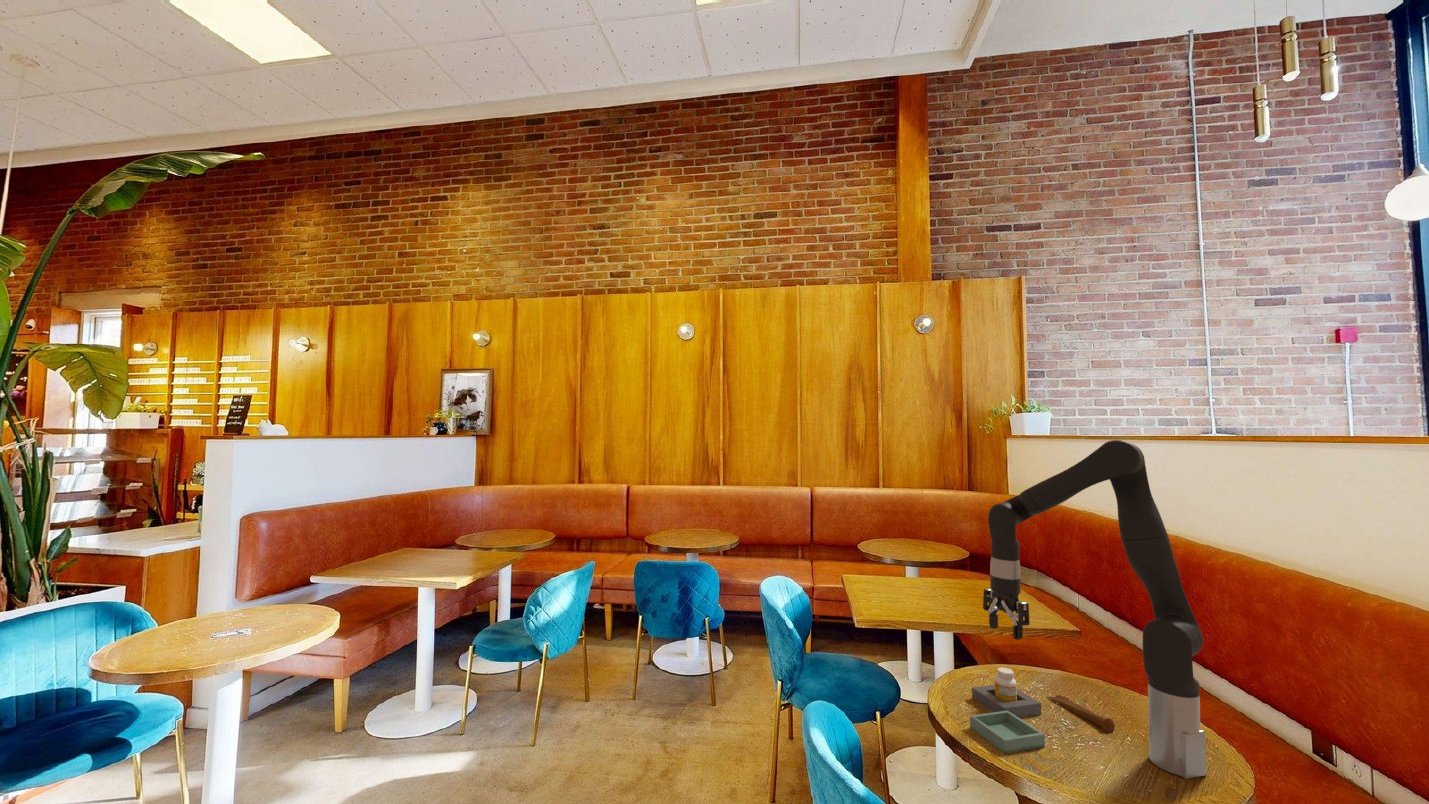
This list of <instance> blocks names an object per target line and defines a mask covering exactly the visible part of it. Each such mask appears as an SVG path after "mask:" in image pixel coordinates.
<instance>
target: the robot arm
mask: <svg viewBox="0 0 1429 804" xmlns="http://www.w3.org/2000/svg"><path fill="white" fill-rule="evenodd" d="M1144 455H1145V454H1144V453H1143V451H1142V450H1141V449H1140V448H1139V447H1138V446H1137V445H1136V444H1135V443H1131V442H1129V441H1126V440H1123V439H1113V440H1109V441H1107V442H1104V443H1103V444H1102V445H1101V446H1099V447H1098V448H1096V449H1095V450H1094V451H1093V452H1091V453H1090V454H1089V455H1088V456H1086V457H1085V458H1083V459H1082V460H1080V461H1078V462H1077V463H1075V464H1074V465H1072V466H1071V467H1069V468H1066V469H1065V470H1063V471H1061V472H1059V473H1056V474H1055V475H1053V476H1050V477H1048V478H1046V479H1044V480H1042V481H1040V482H1038V483H1037V484H1034V485H1032V486H1031V487H1028V488H1026V489H1025V490H1023V491H1022V492H1020V494H1018V495H1016V496H1014V497H1011V498H1010V499H1007V500H1005V501H1003V502H999V503H996V504H994V505H992V506H991V508H990V509H989V511H988V519H987V522H988V529H989V533H990V534H989V535H990V538H991V545H990V548H991V550H990V551H991V553H990V564H989V565H990V567H989V569H990V571H989V576H990V577H989V583H990V586H989V587H990V588H985V589H983V595H982V596H983V598H982V599H983V601H982V609H983V611H987V614H988V624H989V628H990V629H993V630H994V629H998V628H999V615H998V614H999V612H1004V613H1005V614H1007V616H1008V617H1009V619H1011V622H1012V623H1013V625H1012V630H1013V631H1012V634H1013V635H1012V637H1013V639H1014V640H1016V641H1018V640H1023V639H1022V638H1023V637H1024V636H1023V635H1024V634H1023V633H1024V632H1023V631H1024V629H1023V628H1024V626H1030V622H1031V621H1030V605H1029V603H1028V601H1020V599H1019V595H1020V594H1021V591H1022V590H1021V584H1022V582H1021V581H1022V580H1021V579H1022V578H1021V571H1022V570H1021V563H1020V558H1021V557H1020V543H1019V540H1018V539H1017V533H1016V528H1017V527H1016V526H1017V525H1019V524H1022V523H1023V522H1025V521H1027V520H1029V519H1031V518H1032V517H1034V516H1035V515H1039V514H1043V513H1045V512H1046V511H1049V510H1050V509H1053V508H1055V507H1057V506H1059V505H1062V503H1064V502H1066V501H1068V500H1069V499H1071V498H1073V497H1074V496H1076V495H1078V494H1079V493H1081V492H1083V491H1084V490H1086V489H1089V488H1090V487H1091V486H1094V485H1095V486H1096V485H1098V484H1099V483H1103V482H1105V481H1108V480H1109V481H1110V483H1111V486H1112V489H1113V492H1114V495H1115V498H1116V505H1117V519H1118V527H1119V528H1118V529H1119V535H1120V539H1121V542H1122V546H1123V549H1124V553H1125V556H1126V558H1127V561H1128V563H1129V564H1130V566H1131V568H1132V570H1133V571H1134V573H1135V575H1136V576H1137V577H1138V578H1139V580H1140V581H1141V583H1142V584H1143V586H1144V588H1145V589H1146V591H1147V594H1148V597H1149V599H1150V602H1151V607H1152V611H1153V615H1154V619H1153V620H1150V621H1149V622H1147V623H1146V624H1145V626H1144V627H1143V631H1142V655H1143V667H1144V670H1145V671H1144V672H1145V673H1146V676H1147V692H1148V693H1147V699H1148V701H1147V703H1148V704H1147V706H1148V707H1147V708H1148V713H1147V714H1148V756H1149V757H1148V758H1149V761H1151V763H1152V764H1154V765H1155V766H1156V767H1158V768H1160V769H1161V770H1163V771H1166V772H1169V773H1170V774H1173V775H1177V776H1179V777H1182V778H1184V779H1186V780H1189V779H1193V778H1199V777H1203V776H1204V777H1205V776H1207V748H1206V747H1207V745H1206V741H1207V740H1206V738H1207V737H1206V734H1207V733H1206V732H1205V730H1202V729H1201V703H1200V700H1201V697H1200V696H1201V692H1200V690H1201V689H1200V683H1199V681H1198V680H1197V679H1196V678H1195V677H1194V667H1193V657H1195V656H1196V655H1197V654H1198V653H1200V651H1201V650H1202V649H1203V646H1204V637H1203V633H1202V630H1201V629H1200V626H1199V623H1198V622H1197V621H1198V620H1197V619H1196V617H1195V614H1194V612H1193V609H1192V608H1191V605H1190V603H1189V600H1188V598H1187V595H1186V593H1185V590H1184V586H1183V581H1182V579H1181V575H1180V571H1179V569H1178V565H1177V561H1176V558H1175V554H1174V550H1173V547H1172V545H1171V541H1170V538H1169V534H1168V532H1167V529H1166V527H1165V524H1164V521H1163V519H1162V516H1161V513H1160V511H1159V509H1158V506H1157V504H1156V502H1155V499H1154V497H1153V495H1152V492H1151V489H1150V483H1149V479H1148V478H1149V477H1148V473H1147V467H1146V459H1145V456H1144Z"/></svg>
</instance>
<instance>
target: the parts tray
mask: <svg viewBox="0 0 1429 804" xmlns="http://www.w3.org/2000/svg"><path fill="white" fill-rule="evenodd" d="M969 716H970V717H969V720H970V721H969V728H970V729H971V730H972V731H974V732H975V733H976V734H978V735H979V736H981V737H982V738H983V739H985V740H986V741H987V742H989V744H992V745H993V746H994V745H995V746H994V747H995V748H997V749H998V748H999V749H998V750H999V751H1001V752H1002V751H1003V752H1002V753H1004V754H1005V753H1006V754H1011V753H1017V752H1022V751H1028V750H1029V751H1030V750H1034V749H1035V750H1036V749H1040V748H1045V747H1046V743H1045V742H1046V740H1045V739H1046V734H1045V733H1043V732H1042V731H1040V730H1039V729H1037V728H1036V727H1035V726H1032V725H1031V724H1030V723H1027V722H1026V721H1024V720H1023V719H1022V718H1018V717H1017V716H1015V715H1014V714H1012V713H1011V712H1009V711H1000V712H988V713H980V714H975V715H974V714H973V715H969Z"/></svg>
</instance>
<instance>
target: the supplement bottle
mask: <svg viewBox="0 0 1429 804" xmlns="http://www.w3.org/2000/svg"><path fill="white" fill-rule="evenodd" d="M1014 673H1015V672H1014V670H1012V669H1010V668H1007V667H998V668H997V675H996V676H995V677H994V685H995V697H997V698H998V699H1000V700H1002V701H1003V702H1013V701H1017V689H1018V688H1017V681H1016V679H1015V675H1014Z"/></svg>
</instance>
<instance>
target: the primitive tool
mask: <svg viewBox="0 0 1429 804" xmlns="http://www.w3.org/2000/svg"><path fill="white" fill-rule="evenodd" d="M1055 696H1056V697H1052V696H1051V697H1050V696H1047V697H1048V698H1049V699H1051V700H1052V701H1051V700H1050V701H1051V702H1053V701H1054V702H1057V703H1059V704H1060V705H1062V706H1063V707H1062V706H1061V707H1062V708H1064V707H1065V708H1064V709H1066V708H1067V710H1069V711H1070V712H1071V713H1074V714H1076V715H1077V714H1078V716H1080V717H1081V718H1083V719H1084V720H1087V721H1089V722H1090V723H1093V724H1094V725H1096V726H1098V727H1100V728H1101V729H1102V730H1103V732H1105V733H1113V732H1114V730H1115V729H1116V728H1115V727H1116V724H1115V722H1114V720H1113V719H1112V718H1109V717H1108V718H1106V717H1103V716H1101V715H1099V714H1098V713H1097V714H1096V713H1095V712H1093V711H1091V710H1089V709H1087V708H1085V707H1083V706H1082V705H1079V704H1078V703H1076V702H1074V701H1072V700H1069V699H1070V698H1068V697H1066V696H1063V695H1061V694H1057V695H1055ZM1049 699H1048V700H1049ZM1054 702H1053V703H1054ZM1060 705H1059V706H1060Z"/></svg>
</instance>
